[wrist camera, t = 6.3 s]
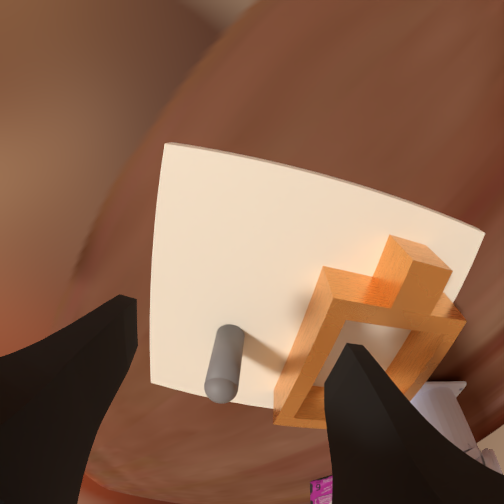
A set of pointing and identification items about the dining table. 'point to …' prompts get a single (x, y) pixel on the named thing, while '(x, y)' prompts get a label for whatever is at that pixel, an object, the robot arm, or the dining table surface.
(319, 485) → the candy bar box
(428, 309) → the wooden link
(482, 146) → the dining table surface
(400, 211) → the board
